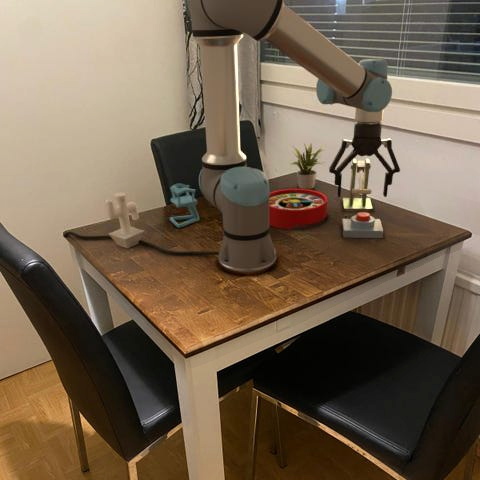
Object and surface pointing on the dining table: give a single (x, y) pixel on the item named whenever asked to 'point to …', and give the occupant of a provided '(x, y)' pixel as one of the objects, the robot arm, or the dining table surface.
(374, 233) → the button box
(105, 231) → the dining table surface
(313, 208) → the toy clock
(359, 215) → the button
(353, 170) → the frame stand
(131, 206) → the figurine
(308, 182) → the house plant
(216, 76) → the robot arm
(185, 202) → the chair
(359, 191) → the lever
